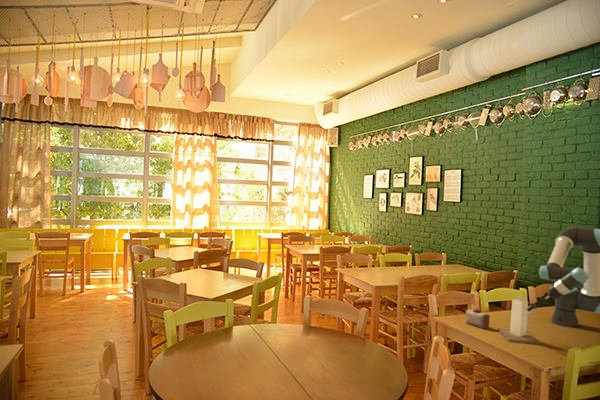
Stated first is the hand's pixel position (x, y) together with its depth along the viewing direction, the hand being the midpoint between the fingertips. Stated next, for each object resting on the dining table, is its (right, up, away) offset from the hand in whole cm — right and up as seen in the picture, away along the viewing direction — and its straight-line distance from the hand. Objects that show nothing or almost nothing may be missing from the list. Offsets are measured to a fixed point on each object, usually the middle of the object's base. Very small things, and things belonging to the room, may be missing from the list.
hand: (526, 311), depth 240 cm
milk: (-3, -14, +3) cm, 14 cm away
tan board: (-3, -15, +3) cm, 16 cm away
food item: (-19, -14, +22) cm, 32 cm away
